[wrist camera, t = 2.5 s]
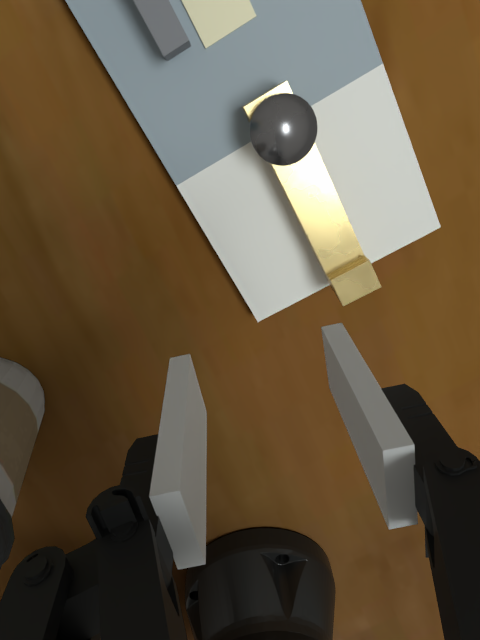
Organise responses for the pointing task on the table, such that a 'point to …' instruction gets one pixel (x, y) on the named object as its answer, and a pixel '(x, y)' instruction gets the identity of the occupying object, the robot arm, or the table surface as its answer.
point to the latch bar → (309, 188)
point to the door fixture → (233, 126)
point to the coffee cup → (16, 439)
